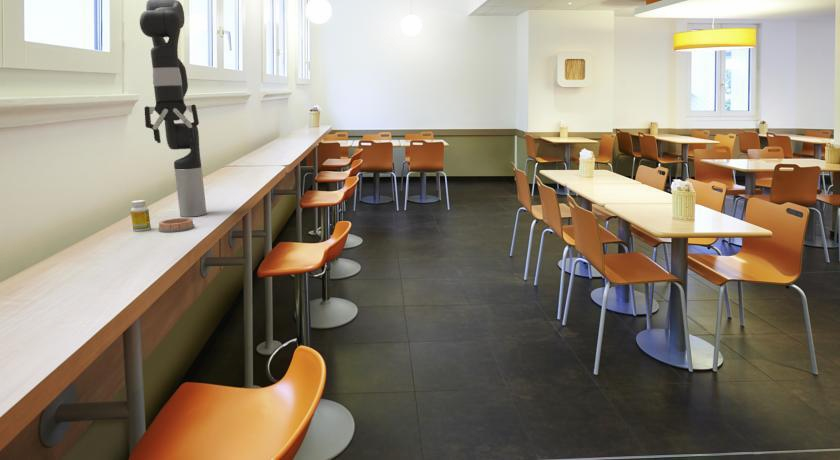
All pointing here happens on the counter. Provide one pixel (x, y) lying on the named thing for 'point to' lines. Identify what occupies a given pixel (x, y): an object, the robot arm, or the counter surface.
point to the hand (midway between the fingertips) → (174, 141)
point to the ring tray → (176, 225)
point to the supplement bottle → (140, 216)
